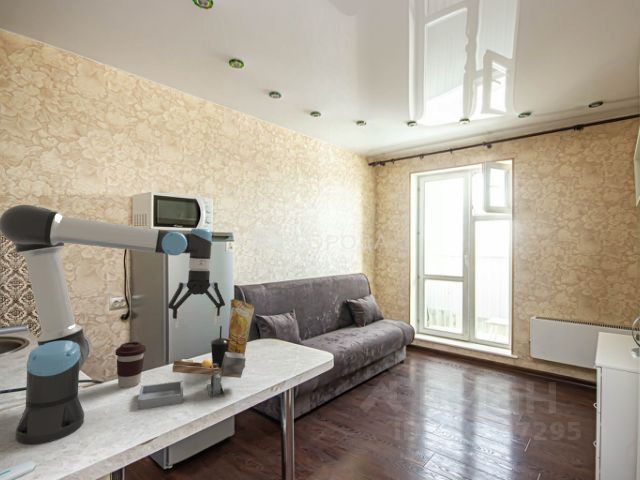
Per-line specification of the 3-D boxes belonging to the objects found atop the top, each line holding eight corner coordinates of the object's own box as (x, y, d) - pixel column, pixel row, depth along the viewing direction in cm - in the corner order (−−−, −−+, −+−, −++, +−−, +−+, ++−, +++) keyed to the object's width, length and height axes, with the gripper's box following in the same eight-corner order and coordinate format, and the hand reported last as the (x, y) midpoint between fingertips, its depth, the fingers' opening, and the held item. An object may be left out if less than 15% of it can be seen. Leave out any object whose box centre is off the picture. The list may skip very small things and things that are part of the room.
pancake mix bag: (234, 355, 159) (237, 297, 159) (253, 368, 144) (256, 304, 145) (221, 358, 155) (223, 298, 155) (239, 371, 140) (242, 305, 140)
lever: (172, 372, 113) (178, 351, 114) (172, 361, 124) (177, 342, 124) (240, 378, 123) (245, 358, 123) (235, 367, 133) (240, 349, 134)
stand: (209, 397, 116) (210, 373, 116) (207, 385, 126) (207, 363, 126) (224, 395, 118) (225, 371, 118) (220, 383, 128) (221, 361, 128)
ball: (200, 369, 118) (204, 360, 118) (200, 366, 121) (203, 357, 122) (210, 371, 119) (213, 362, 120) (209, 368, 122) (212, 359, 123)
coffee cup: (116, 392, 118) (118, 350, 118) (112, 382, 125) (113, 342, 125) (146, 385, 124) (148, 345, 124) (141, 376, 132) (142, 338, 132)
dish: (137, 409, 107) (137, 400, 107) (140, 393, 117) (141, 385, 117) (182, 402, 112) (183, 394, 112) (182, 388, 123) (182, 380, 123)
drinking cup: (222, 378, 132) (225, 329, 132) (205, 376, 134) (207, 327, 134) (231, 371, 140) (233, 324, 140) (215, 369, 141) (217, 322, 141)
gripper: (164, 270, 115) (160, 331, 115) (234, 270, 128) (231, 325, 128) (162, 268, 121) (158, 326, 121) (229, 269, 134) (226, 321, 134)
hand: (196, 326), depth 124 cm, fingers open, 13 cm apart
